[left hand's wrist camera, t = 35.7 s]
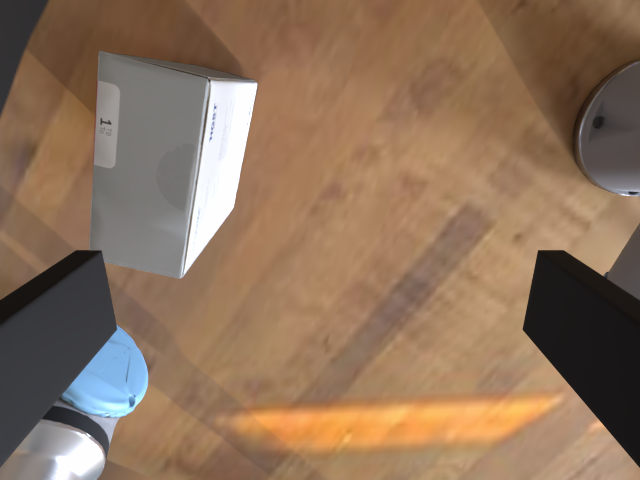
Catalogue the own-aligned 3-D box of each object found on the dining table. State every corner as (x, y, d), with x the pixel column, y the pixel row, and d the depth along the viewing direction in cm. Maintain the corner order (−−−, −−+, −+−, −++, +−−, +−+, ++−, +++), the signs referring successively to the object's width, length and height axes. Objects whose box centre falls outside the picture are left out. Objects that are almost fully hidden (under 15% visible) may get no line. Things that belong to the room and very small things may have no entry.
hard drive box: (190, 62, 45) (97, 42, 26) (258, 80, 46) (216, 74, 27) (172, 196, 50) (85, 260, 31) (234, 211, 51) (184, 282, 32)
